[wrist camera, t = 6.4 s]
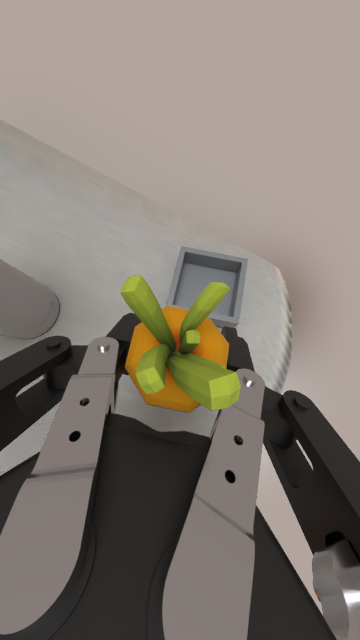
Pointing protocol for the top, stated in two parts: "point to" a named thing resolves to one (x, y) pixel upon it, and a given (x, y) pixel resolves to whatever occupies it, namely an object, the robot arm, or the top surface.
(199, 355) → the carrot
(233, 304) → the bin
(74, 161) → the top surface
